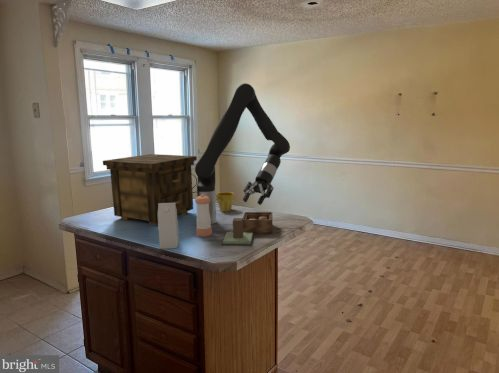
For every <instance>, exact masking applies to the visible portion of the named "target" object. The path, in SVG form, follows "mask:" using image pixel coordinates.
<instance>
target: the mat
mask: <svg viewBox="0 0 499 373" xmlns="http://www.w3.org/2000/svg"><path fill="white" fill-rule="evenodd" d="M254 236H255V235H254V234H253V236H252V240H251V244H223V241H222V243H221V246H252V245H253V241H254Z"/></svg>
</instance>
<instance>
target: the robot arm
mask: <svg viewBox="0 0 499 373" xmlns="http://www.w3.org/2000/svg"><path fill="white" fill-rule="evenodd" d="M246 109H247V110H248V111H249V113H250V115H251V116H252V117H253V120H254V122H255V123H256V125H257V127H258V129H259V130H260V132H261V134H262V135H263V137H264V138H265V139H266V141H271V142H273V144H272V145H271V147H270V148H269V152H268V154H267V158H266V159H265V160H264V163H263V164H262V166H261V167H260V169H259V170H258V173H257V175H256V177H255V179H254V180H255V181H254V182H251V181H248V182H247V184H246V185H245V187H244V189H242V191H243V192H244V196H243V198H242V201H243V202H244V203H247V202H248V200H249V198H250V196H251V195H253V194H256V193H257V194H261V195H260V196H259V198H258V201H257V204H258V205H260V206H261V205H262V204H263V202H264V201H265V199H266V198H267V199H270V197H271V195H272V193H273V191H274V186H273V185H272V182H273V180H274V177H275V176H276V174H277V170H278V169H279V167H280V166H281V162H282V161H281V157H282V156H284V155H286V154H287V153H289V151H290V149H291V146H290V143H289V141H288V139H287V138H286V137H285V136H284V135H283V134H282V133H281V132H280V131H279V130H278V128H276V126H275V124H274V122H273V121H272V120H271V118H270V116H268V114H267V113H266V111H265V110H264V108H263V107H262V105H261V103H260V101H259V99H258V97H257V95H256V91H255V89H254V87H253V86H252V85H251V84H250V83H241V84H239V85H238V86H237V87H236V89H235V91H234V93H233V96H232V99H231V102H230V104H229V106H228V107H227V109H226V111H225V112H224V114H223V115H222V117H221V119H220V121H219V122H218V123H217V125H216V127H215V129H214V131H213V133H212V136H211V138H210V139H209V142H208V144H207V146H206V149H205V151H203V152H204V153H203V154H202V156H201V157H200V159H199V160H198V161H197V163H196V165H195V167H194V172H195V175H196V176H197V184H196V192H197V193H196V194H197V195H196V196H197V197H198V196H201V195H202V194H203V195H204V196H208V197H209V198H210V203H209V214H210V219H211V225H214V224H216V223H217V206H216V205H217V204H216V203H217V202H216V201H217V200H216V164H217V162H218V159H219V158H220V156H221V154H222V153H223V152H224V151H225V149H226V148H227V147H228V145H229V144H230V142H231V140H232V139H233V137H234V136H235V133H236V131H237V129H238V126H239V124H240V120H241V118H242V115H243V114H244V112H245V110H246ZM197 197H196V198H197Z"/></svg>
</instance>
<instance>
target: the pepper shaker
mask: <svg viewBox="0 0 499 373" xmlns="http://www.w3.org/2000/svg"><path fill="white" fill-rule="evenodd" d="M194 202H195V204H196V227H195V228H196V229H195V230H196V231H195V232H196V236H197V237H203V238H205V237H210V236H212V235H213V233H212V232H213V230H212V229H213V228H212V227H213V226H212V224H211V219H210V214H209V203H210V198H209V197H208V196H204V195H203V194H202V195H201V196H198V197H195V200H194Z"/></svg>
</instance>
